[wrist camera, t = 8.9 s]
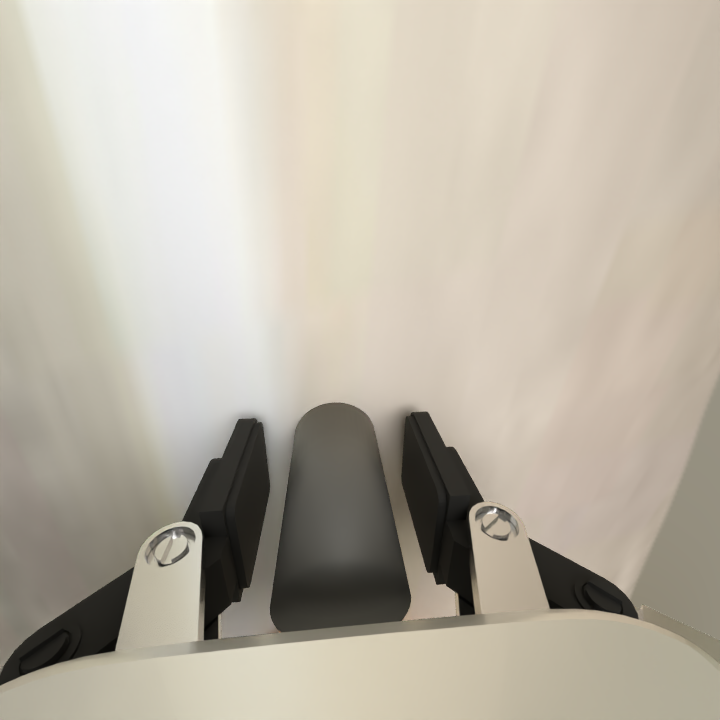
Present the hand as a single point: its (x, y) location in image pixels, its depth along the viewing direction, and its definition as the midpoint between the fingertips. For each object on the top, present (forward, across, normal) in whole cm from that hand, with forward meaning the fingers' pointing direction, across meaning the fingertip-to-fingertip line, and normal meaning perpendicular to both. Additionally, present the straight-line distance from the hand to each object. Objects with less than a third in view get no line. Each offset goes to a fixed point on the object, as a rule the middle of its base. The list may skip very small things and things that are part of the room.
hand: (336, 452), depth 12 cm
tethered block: (+1, 0, +8) cm, 8 cm away
